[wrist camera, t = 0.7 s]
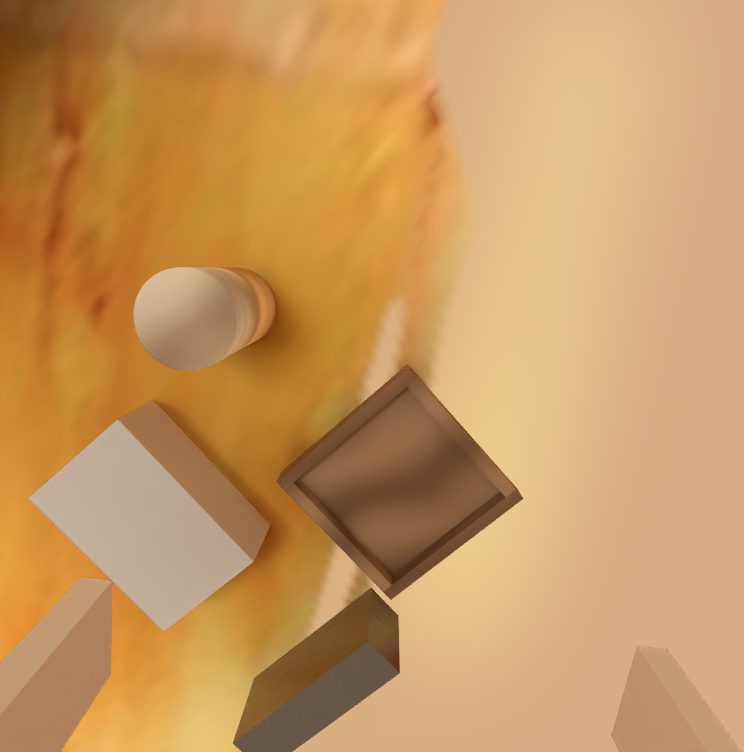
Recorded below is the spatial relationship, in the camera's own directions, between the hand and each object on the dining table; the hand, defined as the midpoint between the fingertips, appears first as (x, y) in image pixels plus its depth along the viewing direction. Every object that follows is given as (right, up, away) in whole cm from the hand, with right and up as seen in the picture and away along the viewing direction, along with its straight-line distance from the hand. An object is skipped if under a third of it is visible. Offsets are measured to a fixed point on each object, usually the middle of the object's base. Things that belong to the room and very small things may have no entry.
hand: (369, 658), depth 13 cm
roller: (-9, +12, +21) cm, 25 cm away
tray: (+2, 0, +23) cm, 23 cm away
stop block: (-3, -13, +26) cm, 29 cm away
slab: (-14, -2, +24) cm, 28 cm away
